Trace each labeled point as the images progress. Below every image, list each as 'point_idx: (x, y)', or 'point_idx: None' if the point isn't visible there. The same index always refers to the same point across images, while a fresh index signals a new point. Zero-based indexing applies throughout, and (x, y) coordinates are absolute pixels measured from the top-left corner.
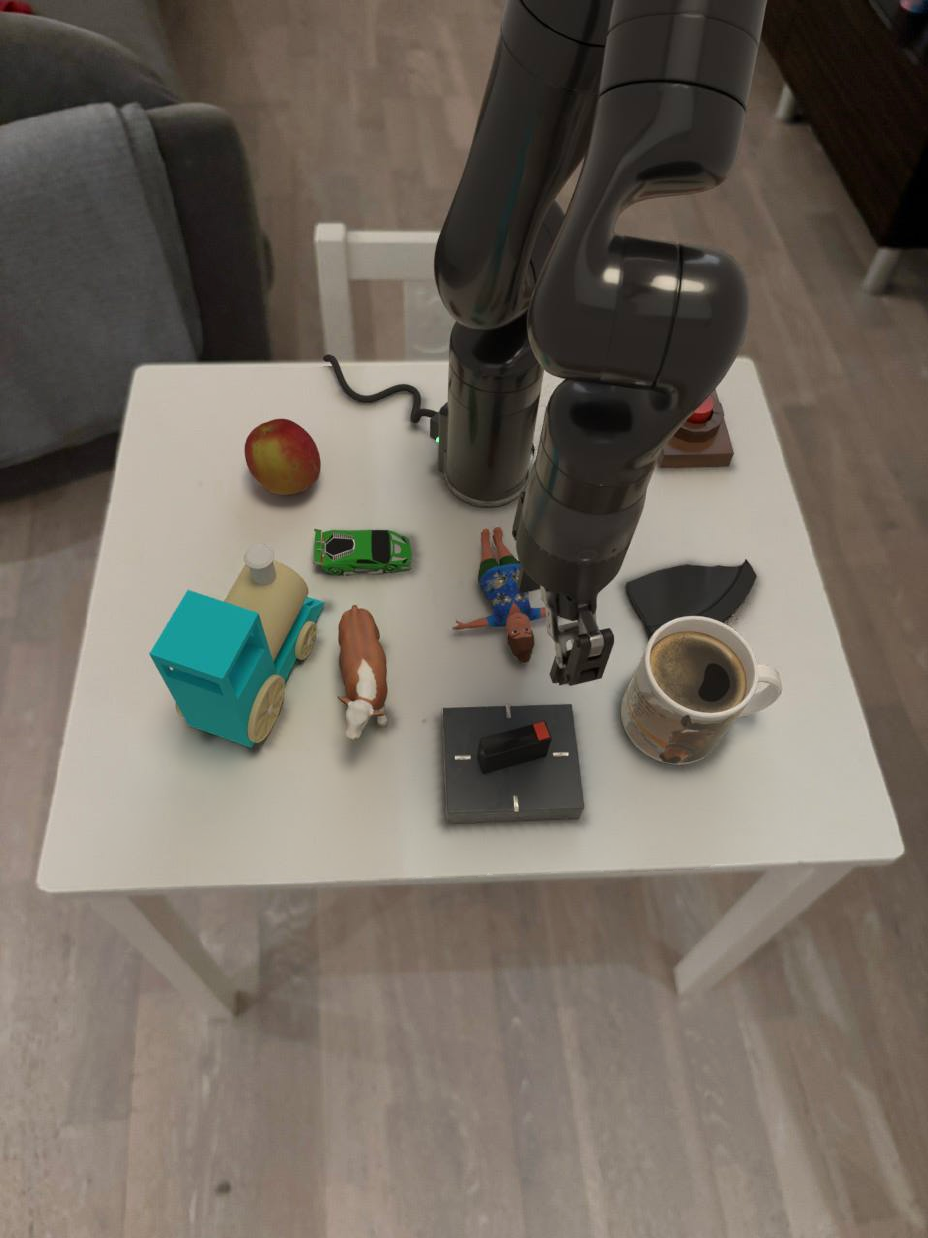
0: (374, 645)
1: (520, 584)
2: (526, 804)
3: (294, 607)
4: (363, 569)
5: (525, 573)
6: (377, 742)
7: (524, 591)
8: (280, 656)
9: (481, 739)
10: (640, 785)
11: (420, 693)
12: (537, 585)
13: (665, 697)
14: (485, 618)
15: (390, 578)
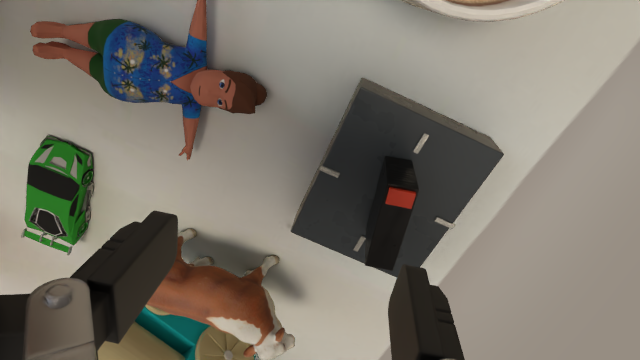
0: (191, 294)
1: (157, 287)
2: (452, 212)
3: (121, 350)
4: (85, 202)
5: (130, 321)
6: (292, 271)
7: (174, 252)
8: (175, 335)
9: (367, 265)
10: (507, 35)
11: (256, 214)
12: (167, 237)
13: (526, 12)
14: (185, 119)
15: (102, 177)
